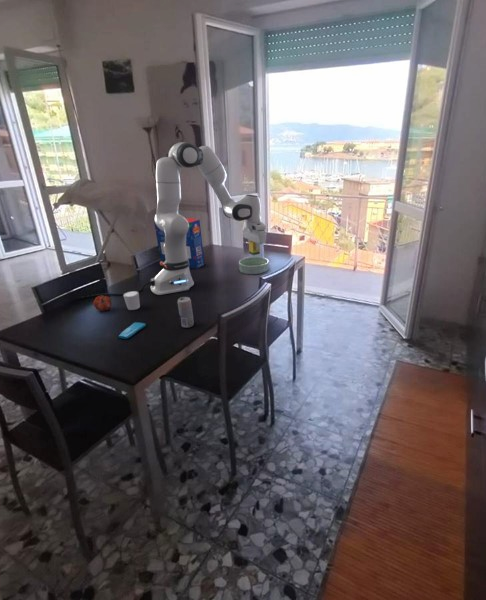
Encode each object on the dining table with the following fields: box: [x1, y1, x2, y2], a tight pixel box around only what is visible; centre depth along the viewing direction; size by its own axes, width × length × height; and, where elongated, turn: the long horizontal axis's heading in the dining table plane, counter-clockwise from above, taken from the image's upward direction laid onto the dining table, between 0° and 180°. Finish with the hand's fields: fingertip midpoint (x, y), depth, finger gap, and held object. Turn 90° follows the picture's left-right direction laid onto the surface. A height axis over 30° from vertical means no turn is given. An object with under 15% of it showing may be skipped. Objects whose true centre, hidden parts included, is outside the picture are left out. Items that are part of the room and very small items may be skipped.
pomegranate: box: [93, 295, 112, 312], centre depth 164 cm, size 7×7×10 cm
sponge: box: [118, 321, 146, 340], centre depth 146 cm, size 2×12×6 cm
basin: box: [238, 256, 270, 275], centre depth 209 cm, size 18×18×5 cm
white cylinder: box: [122, 290, 141, 311], centre depth 165 cm, size 7×7×7 cm
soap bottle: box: [249, 244, 265, 258], centre depth 223 cm, size 9×9×25 cm
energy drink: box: [177, 296, 195, 329], centre depth 147 cm, size 5×5×12 cm
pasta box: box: [153, 217, 205, 270], centre depth 217 cm, size 28×8×28 cm, turn 64°
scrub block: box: [248, 241, 260, 255], centre depth 205 cm, size 4×4×7 cm
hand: (254, 248), depth 205 cm, fingers closed on scrub block, 4 cm apart
